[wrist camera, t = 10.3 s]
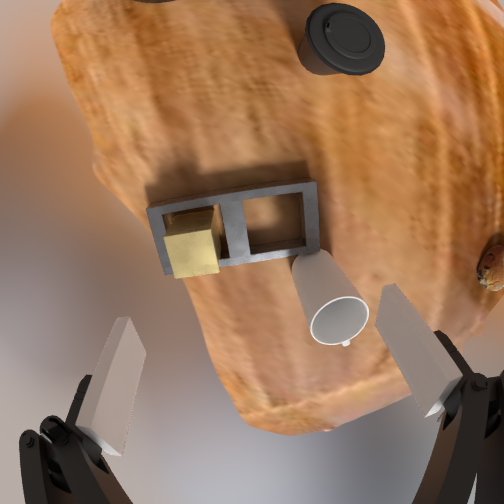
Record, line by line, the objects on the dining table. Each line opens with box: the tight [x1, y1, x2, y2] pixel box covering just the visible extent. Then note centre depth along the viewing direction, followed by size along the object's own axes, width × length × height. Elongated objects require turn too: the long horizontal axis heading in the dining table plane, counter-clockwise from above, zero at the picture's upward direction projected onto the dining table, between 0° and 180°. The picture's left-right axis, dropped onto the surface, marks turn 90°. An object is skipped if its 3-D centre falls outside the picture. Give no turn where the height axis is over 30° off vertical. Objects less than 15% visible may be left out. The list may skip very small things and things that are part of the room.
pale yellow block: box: [164, 209, 221, 279], centre depth 32 cm, size 5×5×7 cm
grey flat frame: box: [146, 178, 320, 275], centre depth 34 cm, size 9×20×2 cm, turn 98°
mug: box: [291, 249, 369, 346], centre depth 34 cm, size 10×7×12 cm, turn 24°
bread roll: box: [477, 245, 504, 291], centre depth 40 cm, size 10×10×8 cm
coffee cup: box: [298, 3, 385, 76], centre depth 22 cm, size 8×8×10 cm
